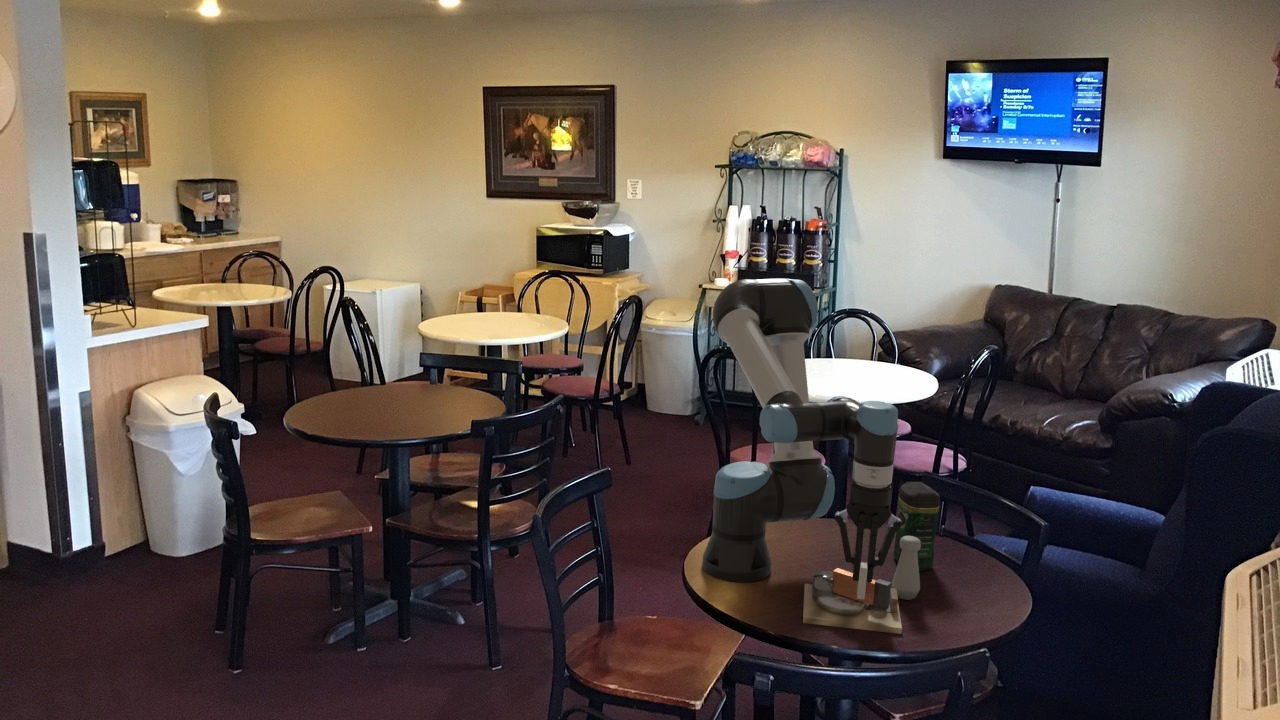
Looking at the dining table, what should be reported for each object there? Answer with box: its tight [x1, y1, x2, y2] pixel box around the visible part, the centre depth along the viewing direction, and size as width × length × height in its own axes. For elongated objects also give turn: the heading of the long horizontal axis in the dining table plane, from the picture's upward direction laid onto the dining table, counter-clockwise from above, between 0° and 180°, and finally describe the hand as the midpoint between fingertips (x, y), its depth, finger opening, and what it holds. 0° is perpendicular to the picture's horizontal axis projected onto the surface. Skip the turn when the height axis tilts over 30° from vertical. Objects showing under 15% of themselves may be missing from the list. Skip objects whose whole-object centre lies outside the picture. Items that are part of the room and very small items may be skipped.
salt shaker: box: [891, 536, 921, 601], centre depth 219 cm, size 6×6×13 cm
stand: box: [802, 583, 903, 635], centre depth 212 cm, size 19×16×4 cm
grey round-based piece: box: [812, 567, 892, 615], centre depth 210 cm, size 10×16×7 cm, turn 52°
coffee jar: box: [892, 481, 941, 572], centre depth 235 cm, size 10×8×19 cm
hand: (860, 596), depth 206 cm, fingers closed
